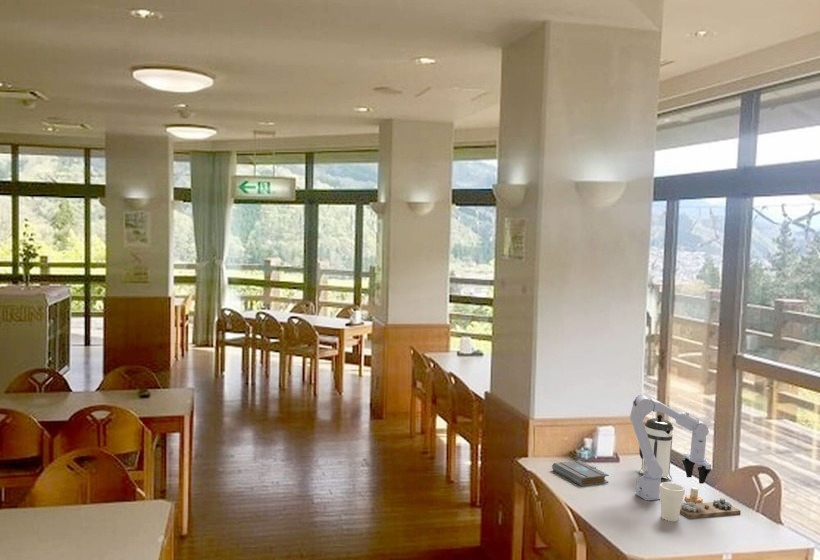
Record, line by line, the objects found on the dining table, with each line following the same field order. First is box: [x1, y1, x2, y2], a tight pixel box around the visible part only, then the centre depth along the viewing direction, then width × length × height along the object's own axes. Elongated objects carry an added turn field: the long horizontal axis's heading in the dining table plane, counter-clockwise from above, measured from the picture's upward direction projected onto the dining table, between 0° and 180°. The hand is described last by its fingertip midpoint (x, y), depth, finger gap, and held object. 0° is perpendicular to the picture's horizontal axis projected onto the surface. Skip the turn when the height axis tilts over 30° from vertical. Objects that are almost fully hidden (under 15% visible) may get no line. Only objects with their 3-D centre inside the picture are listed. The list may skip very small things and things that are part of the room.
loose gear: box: [684, 486, 703, 504], centre depth 298 cm, size 7×7×6 cm
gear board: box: [679, 501, 741, 520], centre depth 287 cm, size 26×10×3 cm, turn 109°
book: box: [551, 459, 609, 487], centre depth 321 cm, size 21×16×5 cm
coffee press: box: [638, 414, 675, 480], centre depth 327 cm, size 17×16×30 cm
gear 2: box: [712, 498, 732, 510], centre depth 289 cm, size 7×7×3 cm
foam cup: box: [659, 482, 686, 522], centre depth 277 cm, size 10×9×13 cm
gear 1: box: [682, 501, 701, 513], centre depth 284 cm, size 7×7×3 cm
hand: (695, 480), depth 298 cm, fingers open, 7 cm apart
